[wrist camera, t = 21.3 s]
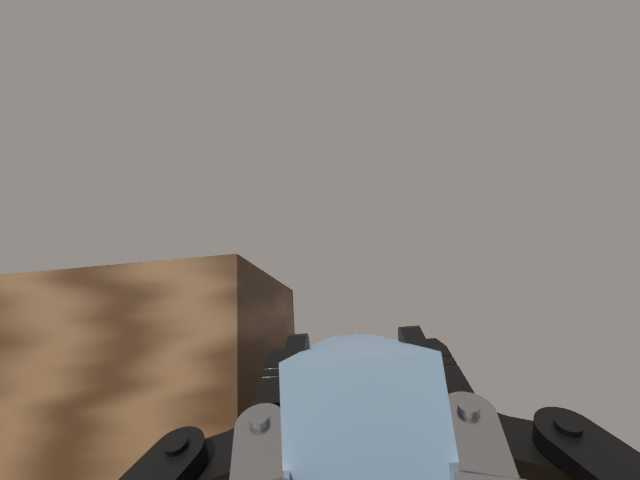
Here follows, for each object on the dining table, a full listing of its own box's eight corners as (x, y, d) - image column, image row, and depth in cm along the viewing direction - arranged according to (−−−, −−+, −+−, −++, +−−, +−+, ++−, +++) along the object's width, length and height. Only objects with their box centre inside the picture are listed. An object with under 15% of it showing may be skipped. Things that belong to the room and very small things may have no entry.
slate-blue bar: (374, 377, 27) (370, 333, 28) (474, 552, 6) (441, 351, 7) (333, 379, 27) (329, 336, 28) (285, 558, 6) (278, 363, 7)
